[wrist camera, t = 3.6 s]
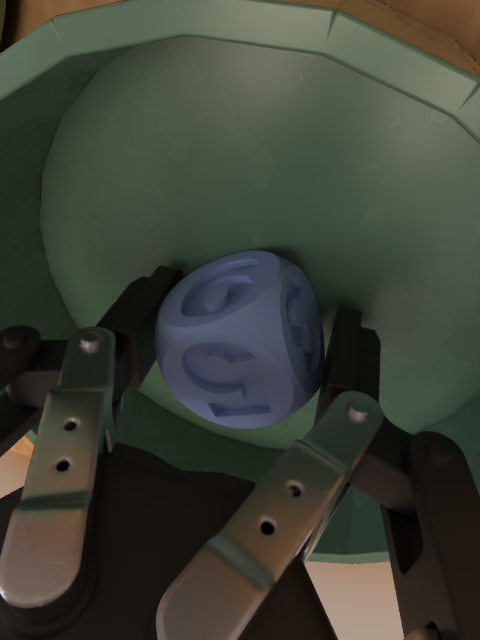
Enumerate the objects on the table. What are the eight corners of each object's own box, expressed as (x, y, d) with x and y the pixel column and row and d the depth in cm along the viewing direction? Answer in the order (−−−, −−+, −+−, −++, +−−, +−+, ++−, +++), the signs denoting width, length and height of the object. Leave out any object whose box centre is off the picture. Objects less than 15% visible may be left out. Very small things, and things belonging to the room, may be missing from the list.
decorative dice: (230, 351, 17) (196, 434, 14) (184, 264, 15) (134, 339, 12) (331, 337, 16) (316, 427, 13) (294, 237, 14) (266, 315, 11)
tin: (748, 37, 9) (996, 93, 5) (428, 495, 20) (436, 613, 16) (-38, -59, 11) (-239, -66, 8) (72, 395, 23) (11, 478, 19)
